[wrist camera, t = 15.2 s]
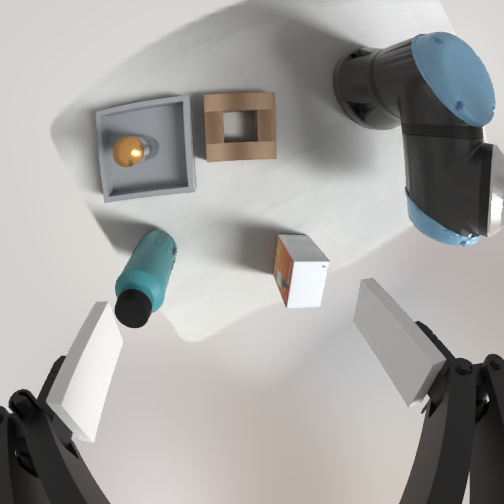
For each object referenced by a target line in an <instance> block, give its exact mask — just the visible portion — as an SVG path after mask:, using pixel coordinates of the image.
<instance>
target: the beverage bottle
mask: <svg viewBox="0 0 504 504" xmlns="http://www.w3.org/2000/svg"><path fill="white" fill-rule="evenodd" d="M140 240H141V239H140ZM176 246H177V245H176V244H175V242H174V240H173V238H172V237H171V236H170V235H169V234H167V233H165V232H163V231H152V232H149V233H147V234H145V236H144V237H143V238H142V240H141V241H140V243H139V245H137V247H136V249H135V250H134V251H133V254H132V256H131V258H130V260H129V261H128V263H127V265H126V266H125V268H124V270H123V272H122V273H121V275H120V276H119V277H118V279H117V281H116V285H115V292H116V296H117V298H118V299H117V302H116V305H115V315H116V317H117V319H118V320H119V321H120V322H121V323H122V324H123V325H125V326H127V327H130V328H139V327H142V326H144V325H145V324H146V323H147V321H148V318H149V317H150V315H151V313H153V312H155V311H156V310H158V309H159V308H160V307H161V305H162V304H163V301H164V296H165V291H166V287H167V284H168V281H169V277H170V273H171V271H172V268H173V267H172V266H173V265H174V264H173V263H175V260H174V259H176V258H175V255H176V254H177V251H176V249H177V248H176ZM176 256H177V255H176Z"/></svg>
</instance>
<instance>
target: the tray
mask: <svg viewBox="0 0 504 504" xmlns="http://www.w3.org/2000/svg"><path fill="white" fill-rule="evenodd" d="M96 130H97V144H98V155H99V165H100V174H101V181H102V189H103V195H104V202H105V203H107V202H113V201H120V200H127V199H135V198H143V197H151V196H160V195H169V194H178V193H189V192H195V189H196V175H195V161H194V146H193V128H192V105H191V98H190V96H189V95H184V96H176V97H168V98H161V99H155V100H149V101H143V102H137V103H132V104H127V105H122V106H118V107H113V108H109V109H105V110H101V111H97V112H96ZM123 137H153V138H155V139H156V140H157V142H158V144H159V151H158V154H157V155H156V156H155V157H154V158H152V159H150V160H147V161H144V162H142V163H139V164H136V165H133V166H131V167H122V166H119V165H118V164H117V163H116V162H115V160H114V158H113V148H114V146H115V144H116V142H117V141H118V140H120V139H121V138H123Z"/></svg>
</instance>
